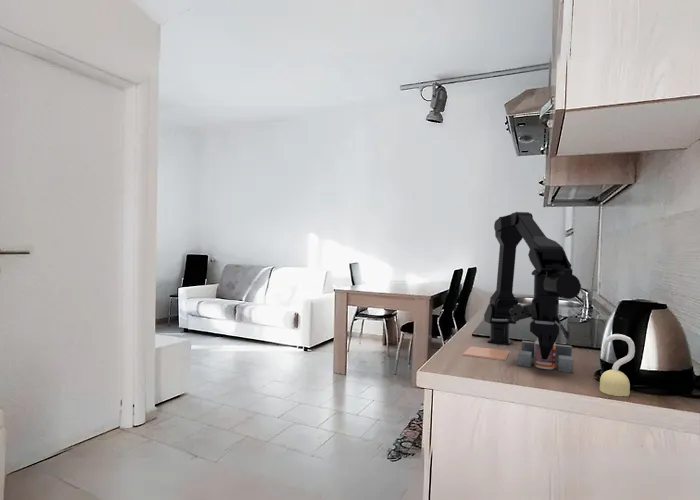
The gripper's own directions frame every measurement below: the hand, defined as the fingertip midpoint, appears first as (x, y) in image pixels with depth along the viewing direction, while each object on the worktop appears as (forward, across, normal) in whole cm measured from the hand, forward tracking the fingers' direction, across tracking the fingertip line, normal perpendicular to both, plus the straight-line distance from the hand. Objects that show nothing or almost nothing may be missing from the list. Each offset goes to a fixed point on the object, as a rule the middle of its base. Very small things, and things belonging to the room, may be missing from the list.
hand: (544, 357), depth 107 cm
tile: (+2, -7, -15) cm, 17 cm away
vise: (+2, -7, 0) cm, 7 cm away
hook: (+3, +14, +14) cm, 20 cm away
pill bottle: (+3, 0, 0) cm, 3 cm away
